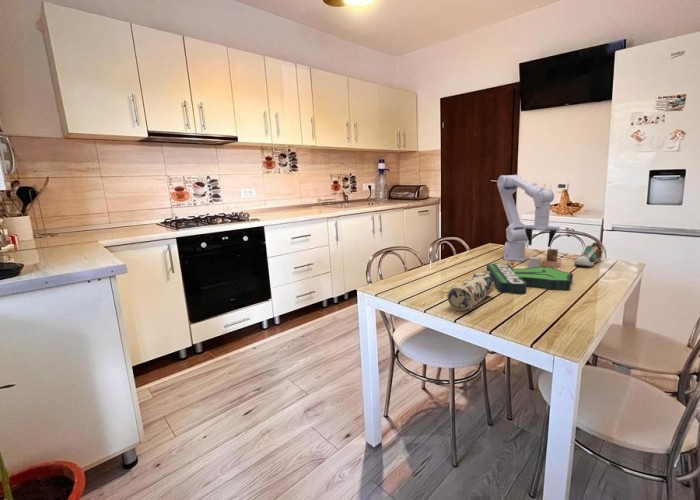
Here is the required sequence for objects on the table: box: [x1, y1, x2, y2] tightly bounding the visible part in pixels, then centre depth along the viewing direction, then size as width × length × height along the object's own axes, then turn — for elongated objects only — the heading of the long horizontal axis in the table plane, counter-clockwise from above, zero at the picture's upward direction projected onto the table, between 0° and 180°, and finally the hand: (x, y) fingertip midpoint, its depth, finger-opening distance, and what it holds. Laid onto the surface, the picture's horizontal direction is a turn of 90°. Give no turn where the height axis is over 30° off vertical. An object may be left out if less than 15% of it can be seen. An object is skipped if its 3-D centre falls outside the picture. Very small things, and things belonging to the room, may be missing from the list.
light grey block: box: [528, 256, 541, 268], centre depth 157 cm, size 4×4×5 cm
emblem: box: [486, 263, 574, 295], centre depth 138 cm, size 30×4×30 cm
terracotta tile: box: [540, 257, 562, 269], centre depth 160 cm, size 7×7×3 cm
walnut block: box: [546, 248, 559, 262], centre depth 159 cm, size 4×4×5 cm
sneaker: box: [574, 242, 603, 267], centre depth 160 cm, size 8×21×10 cm, turn 129°
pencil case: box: [446, 270, 495, 311], centre depth 117 cm, size 22×8×10 cm, turn 137°
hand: (539, 245), depth 158 cm, fingers open, 7 cm apart
